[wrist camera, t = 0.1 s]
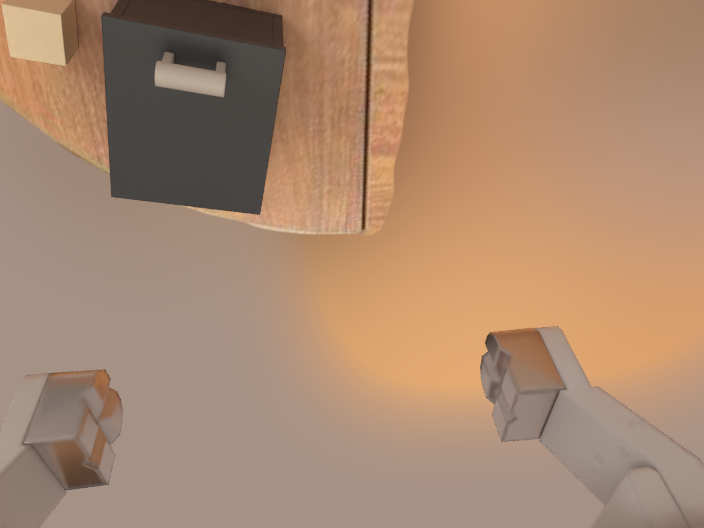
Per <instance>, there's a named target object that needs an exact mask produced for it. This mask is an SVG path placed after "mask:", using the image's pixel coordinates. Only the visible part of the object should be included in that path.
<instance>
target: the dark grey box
mask: <svg viewBox="0 0 704 528" xmlns="http://www.w3.org/2000/svg"><path fill="white" fill-rule="evenodd" d="M110 14H115V15H120V16H126V17H131V18H136V19H141V20H146V21H152V22H157V23H162V24H167V25H172V26H178V27H183V28H188V29H193V30H198V31H204V32H209V33H214V34H219V35H224V36H230V37H235V38H240V39H245V40H250V41H256V42H261V43H266V44H271V45H276V46H282V47H284V46H283V26H282V16H281V15H277V14H272V13H267V12H262V11H257V10H252V9H248V8H243V7H238V6H233V5H228V4H223V3H218V2H213V1H209V0H118V2H117V4H116V5H115V7H114V8H113V10H112V12H111V13H110Z"/></svg>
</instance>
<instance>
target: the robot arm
mask: <svg viewBox="0 0 704 528" xmlns="http://www.w3.org/2000/svg"><path fill="white" fill-rule="evenodd" d="M485 344H486V347H487V350H488V352H487V353H486V354H484V355H483V356H482V360H481V365H480V370H481V381H482V386H483V389H484V393H485V396H486V398H487V399H489V400H490V401H491V402H492V403H494V404H495V406H494V410H493V414H492V416H493V419H494V422H495V425H496V427H497V431H498V433H499V436H500V439H501V442H507V441H519V440H530V439H540V442H541V443H542V444H543V445H544V446H545V447H546V448H547V449H548V450H549V451H550V452H551V453H552V454H553V455H554V456H555V457H556V458H557V459H558V460H559V461H561V463H562V464H563V465H564V466H565V467H566V468H567V469H568V470H569V471H570V472H572V474H573V475H574V476H575V477H576V478H577V479H578V480H579V481H581V482H582V483H583V484H584V485H585V486H586V487H587V488H588V489H589V490H590V491H591V492H592V493H593V494H594V495H595V496H596V497H597V498H598V499H599V500H600V501H601V502H602V503H603V504H604V505H605V506H604V507H603V509H602V511H601V512H600V514H599V515H598V517H597V518H596V520H595V521H594V523H593V525H592V526H591V528H704V464H703V462H702V461H701V460H700V459H699V458H698V457H697V456H695V455H694V454H692V453H691V452H690V451H688V450H687V449H685V448H684V447H683V446H681V445H680V444H678V443H677V442H675V441H674V440H673V439H671V438H670V437H668V436H667V435H666V434H664V433H663V432H661V431H660V430H659V429H657V428H656V427H655V426H653V425H652V424H650V423H649V422H647V421H646V420H645V419H643V418H642V417H640V416H639V415H638V414H636V413H635V412H633V411H632V410H631V409H629V408H628V407H626V406H625V405H624V404H622V403H621V402H619V401H618V400H616V399H615V398H614V397H612V396H611V395H610V394H608V393H607V392H605V391H604V390H602V389H601V388H600V387H591V385H590V383H589V381H588V379H587V377H586V376H585V373H584V371H583V369H582V368H581V366H580V364H579V362H578V360H577V358H576V356H575V354H574V352H573V350H572V348H571V347H570V345H569V343H568V341H567V339H566V337H565V335H564V333H563V331H562V330H561V329H560V328H559V327H558V326H553V327H542V328H526V329H517V330H508V331H498V332H490V333H489V334H488V336H487V339H486V342H485ZM109 383H110V377H109V375H108V374H107V372H106V370H91V371H75V372H60V373H47V374H36V375H26V376H25V377H24V379H23V380H22V381H21V382H20V383H19V386H18V389H17V391H16V393H15V396H14V398H13V401H12V403H11V406H10V408H9V411H8V413H7V415H6V418H5V420H4V423H3V425H2V428H1V430H0V528H40V526H41V525H42V524H43V523H44V521H45V520H46V519H47V517H48V516H49V515H50V514H51V512H52V511H53V510H54V508H55V507H56V506H57V504H58V503H59V502H60V501H61V499H62V498H63V497H64V496H65V494H66V493H67V492H66V491H65V490H72V489H79V488H87V487H95V486H101V485H109V481H110V477H111V472H112V468H113V464H114V459H115V453H114V451H113V449H112V447H111V446H110V445H111V444H112V443H113V442H114V441H115V440H116V439H117V437H118V436H119V435H120V432H121V427H122V416H123V415H122V414H123V413H122V412H123V410H122V409H123V408H122V403H121V399H120V397H119V395H118V393H117V391H115V390H113V389H111V388H109Z"/></svg>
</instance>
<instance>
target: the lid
mask: <svg viewBox="0 0 704 528" xmlns="http://www.w3.org/2000/svg"><path fill="white" fill-rule="evenodd" d="M101 18H102V36H103V54H104V72H105V90H106V108H107V126H108V144H109V163H110V180H111V196H112V197H116V198H125V199H133V200H141V201H150V202H159V203H166V204H175V205H183V206H192V207H200V208H208V209H217V210H225V211H233V212H242V213H250V214H258V215H260V212H261V205H262V199H263V193H264V186H265V180H266V174H267V167H268V161H269V155H270V148H271V142H272V136H273V129H274V123H275V117H276V110H277V104H278V98H279V91H280V85H281V79H282V72H283V66H284V60H285V53H286V48H285V47H282V46H276V45H271V44H266V43H261V42H256V41H250V40H245V39H240V38H235V37H230V36H224V35H219V34H214V33H209V32H204V31H198V30H193V29H188V28H183V27H178V26H172V25H167V24H162V23H157V22H152V21H146V20H141V19H136V18H131V17H126V16H120V15H115V14H110V13H105V12H104V13H103V14H102V16H101Z"/></svg>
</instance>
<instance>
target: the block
mask: <svg viewBox="0 0 704 528" xmlns="http://www.w3.org/2000/svg"><path fill="white" fill-rule="evenodd" d="M1 5H2V11H3V17H4V23H5V29H6V35H7V41H8V47H9V53H10V57H13V58H19V59H25V60H31V61H37V62H43V63H49V64H55V65H61V66H66V65H67V64H68V62H69V61H70V59H71V58H72V56H73V55H74V53H75V52H76V50H77V49H78V35H77V23H76V11H75V0H5V1H4V2H3V3H2V4H1Z"/></svg>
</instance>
